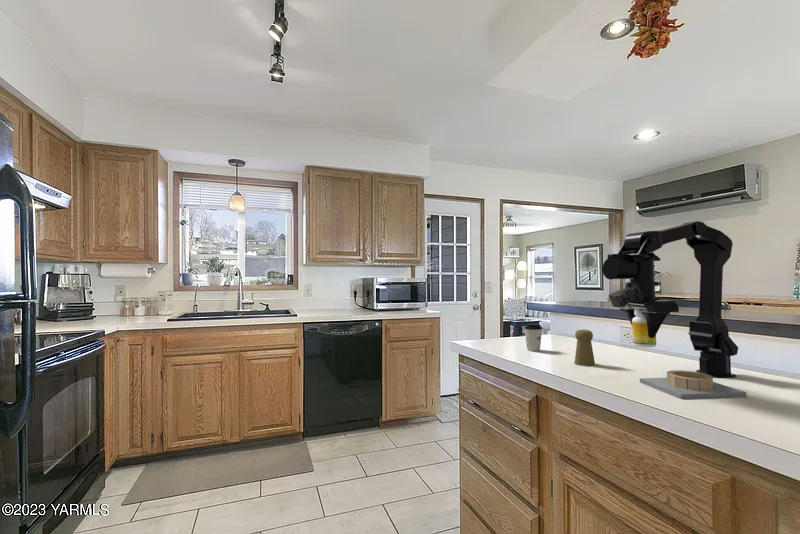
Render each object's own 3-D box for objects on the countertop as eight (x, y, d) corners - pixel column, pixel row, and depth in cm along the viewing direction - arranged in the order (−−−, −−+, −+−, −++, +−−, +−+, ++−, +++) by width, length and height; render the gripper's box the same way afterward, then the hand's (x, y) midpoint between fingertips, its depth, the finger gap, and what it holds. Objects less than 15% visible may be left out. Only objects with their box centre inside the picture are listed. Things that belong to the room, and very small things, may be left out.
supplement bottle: (639, 343, 107) (637, 308, 108) (660, 345, 103) (658, 309, 103) (629, 345, 105) (627, 310, 105) (650, 348, 100) (648, 311, 100)
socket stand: (696, 380, 104) (696, 367, 104) (746, 396, 90) (745, 381, 90) (639, 382, 103) (639, 368, 103) (680, 398, 89) (680, 383, 89)
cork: (574, 365, 123) (574, 330, 123) (574, 361, 129) (573, 328, 129) (596, 366, 121) (595, 331, 121) (594, 362, 126) (593, 329, 127)
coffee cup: (522, 351, 147) (521, 324, 147) (526, 348, 153) (526, 322, 153) (541, 352, 143) (540, 325, 144) (545, 349, 149) (544, 323, 150)
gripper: (594, 279, 113) (596, 332, 113) (635, 279, 95) (637, 343, 94) (631, 277, 114) (633, 330, 113) (679, 278, 95) (682, 341, 95)
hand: (644, 336), depth 104 cm, fingers closed on supplement bottle, 5 cm apart
